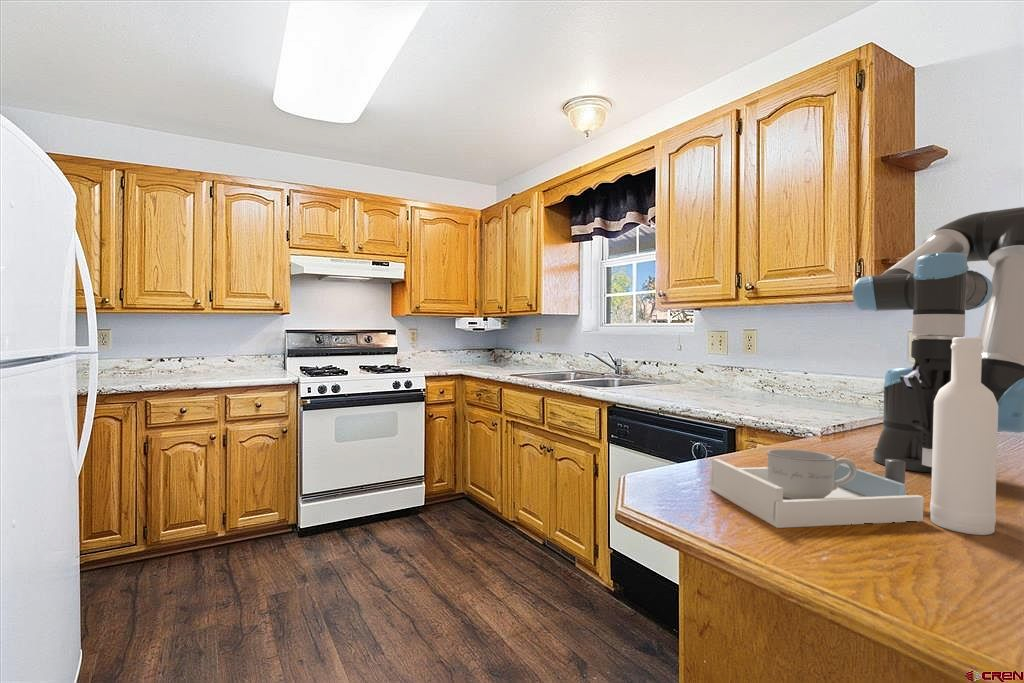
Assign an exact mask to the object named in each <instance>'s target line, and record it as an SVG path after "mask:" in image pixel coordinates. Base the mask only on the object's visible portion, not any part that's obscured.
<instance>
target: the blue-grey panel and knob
mask: <svg viewBox="0 0 1024 683" xmlns="http://www.w3.org/2000/svg"><path fill="white" fill-rule="evenodd" d="M905 464H906V462H905V461H902V460H897V459H885V465H884V476H880V475H878V474H875V473H872V472H868V471H866V470H863V469H861V468H857V467H856V469H857V473H856V475H855V477H854V478H853V479H852V480H851V481H849V482H847V483H845V484H843V485H841V486H842V487H844V488H847V489H849V490H852V491H855V492H857V493H860V494H862V495H865V496H868V497H876V496H903V495H907V494H906V493H907V484H906V470H905ZM849 472H850V468H849V466H848V465H847V464H844V463H843V464H840V465H839V466H838V468H837V470H836V472H835V473H834V481H835V480H839V479H842V478H844V477H845V476H847V475H848V473H849Z"/></svg>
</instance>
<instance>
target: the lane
mask: <svg viewBox="0 0 1024 683" xmlns="http://www.w3.org/2000/svg"><path fill="white" fill-rule="evenodd" d="M709 472H710V475H709V478H710V479H709V480H710V481H709V489H710V490H711V491H712V492H714V493H716V494H718V495H719V496H721V497H723V498H724V499H726V500H728V501H730V502H731V503H733V504H735V505H737V506H738V507H740V508H741V509H743V510H745V511H747V512H749V513H750V514H752V515H754V516H756V517H757V518H759V519H761V520H762V521H764V522H766V523H768V524H770V525H771V526H773V527H775V528H776V529H778V528H780V529H783V528H784V529H785V528H803V527H807V528H808V527H825V526H827V527H828V526H845V525H846V526H849V525H851V524H852V525H865V524H864V523H873V524H889V523H890V524H891V523H892V522H895V523H907V522H906V521H917V522H923V521H924V501H925V500H924V496H922V495H919V494H911V495H910V494H909V495H908V494H906V495H903V496H876V497H868V496H865V495H862V494H860V493H857V492H855V491H852V490H849V489H847V488H844V487H842V486H839V487H838V488H837V489H836V490H833V491H832V492H831V493H830V494H829V495H828V496H826V497H824V498H821V499H794V500H793V499H789V498H785V497H783V488H781V487H779V486H777V485H775V484H772V483H770V482H769V479H768V466H762V467H760V466H758V467H756V466H755V467H751V466H750V467H737V466H735V465H733V464H730V463H728V462H726V461H724V460H722V459H719V458H712V459H711V468H710V471H709Z"/></svg>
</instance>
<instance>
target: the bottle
mask: <svg viewBox="0 0 1024 683" xmlns="http://www.w3.org/2000/svg"><path fill="white" fill-rule="evenodd" d="M951 349H952V363H951V381H950V382H949V383H947V384H946V385H944V386H943V387H942V388H940V389H939V391H938V393H937V395H936V397H935V400H934V415H933V451H932V473H931V489H930V490H931V492H930V493H931V494H930V495H931V496H930V501H929V502H930V504H929V511H930V521H931V522H932V523H933V524H934V525H936V526H938V527H941V528H943V529H945V530H949V531H953V532H957V533H961V534H966V535H974V536H988V535H992V534H993V533H995V530H996V529H995V527H996V522H997V514H996V513H997V512H996V496H997V467H998V466H997V464H998V463H997V462H998V459H997V458H998V435H999V434H998V433H999V432H998V404H997V401H996V399H995V396H994V394H993V392H992V391H990V390H989V389H988V388H987V387H986V386H984V385H983V384H982V383H981V365H982V350H983V345H982V339H981V338H979V337H965V336H963V337H954V338H953V339H952V344H951Z"/></svg>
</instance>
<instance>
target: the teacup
mask: <svg viewBox="0 0 1024 683" xmlns="http://www.w3.org/2000/svg"><path fill="white" fill-rule="evenodd" d="M766 454H767V467H768V479H769V482H770V483H772V484H775V485H777V486H779V487H781V488H783V497H785V498H789V499H793V500H794V499H821V498H824V497H826V496H828V495H829V494H830V493H831V492H832V491H833V490H836V489H837V488H838V487H839V486H841V485H843V484H845V483H847V482H849V481H851V480H852V479H853V478H854V477H855V475H856V473H857V469H858V468H857V466H856V464H855V463H854V461H852V460H851V459H849V458H847V457H839V458H836V457H835V456H834V455H832V454H829V453H824V452H818V451H814V450H813V451H812V450H804V449H791V448H780V449H779V448H777V449H775V448H774V449H773V448H772V449H769V450H767V451H766ZM840 464H845V465H848V466H849V468H850V472H849V473H848V475H847V476H845V477H844V478H842V479H839V480H835V481H834V473H835V472H836V470H837V468H838V466H839V465H840ZM856 468H857V469H856Z"/></svg>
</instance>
